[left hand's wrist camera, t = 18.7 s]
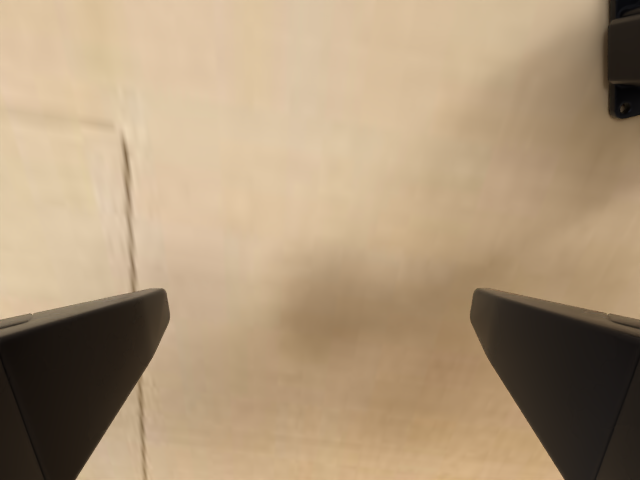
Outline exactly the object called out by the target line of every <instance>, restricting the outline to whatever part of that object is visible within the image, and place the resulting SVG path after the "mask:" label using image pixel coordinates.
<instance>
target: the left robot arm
mask: <svg viewBox="0 0 640 480" xmlns="http://www.w3.org/2000/svg"><path fill="white" fill-rule="evenodd" d="M608 80H609V81H610V83H609V111H610V115H611V116H612V117H614V118H620V119H624V118H629V117H633V116H637V115H640V0H610V25H609V27H608ZM623 104H625V108H624V110H623V111H622V112H620V108H621V106H622V105H623ZM169 320H170V311H169V305H168V299H167V293H166V291H165V290H164V289H162V288H159V289H146V290H141V291H137V292H132V293H127V294H123V295H118V296H113V297H108V298H104V299H99V300H94V301H90V302H85V303H80V304H75V305H71V306H66V307H61V308H57V309H52V310H47V311H43V312H38V313H34V314H33V315H32V314H26V315H21V316H16V317H11V318H7V319H2V320H0V480H76V478H77V476H78V475H79V473H80V472H81V470H82V469H83V467H84V465H85V464H86V462H87V461H88V459H89V457H90V456H91V454H92V453H93V451H94V450H95V448H96V446H97V445H98V443H99V442H100V440H101V438H102V437H103V435H104V434H105V432H106V431H107V429H108V427H109V426H110V424H111V423H112V421H113V420H114V418H115V416H116V415H117V413H118V412H119V410H120V408H121V407H122V405H123V404H124V402H125V401H126V399H127V397H128V396H129V394H130V393H131V391H132V389H133V388H134V386H135V385H136V383H137V382H138V380H139V378H140V377H141V375H142V374H143V372H144V371H145V369H146V367H147V366H148V364H149V362H150V361H151V359H152V357H153V355H154V353H155V352H156V349H157V347H158V345H159V343H160V341H161V339H162V336H163V334H164V332H165V330H166V328H167V326H168V323H169ZM470 320H471V323H472V326H473V328H474V330H475V332H476V334H477V336H478V339H479V341H480V343H481V345H482V347H483V349H484V352H485V354H486V355H487V357H488V359H489V361H490V363H491V364H492V366H493V367H494V369H495V371H496V372H497V374H498V375H499V377H500V378H501V380H502V382H503V383H504V385H505V386H506V388H507V389H508V391H509V393H510V394H511V396H512V397H513V399H514V401H515V402H516V404H517V405H518V407H519V408H520V410H521V412H522V413H523V415H524V416H525V418H526V419H527V421H528V423H529V424H530V426H531V427H532V429H533V431H534V432H535V434H536V435H537V437H538V438H539V440H540V442H541V443H542V445H543V446H544V448H545V450H546V451H547V453H548V454H549V456H550V457H551V459H552V461H553V462H554V464H555V465H556V467H557V469H558V470H559V472H560V473H561V475H562V476H563V478H564V480H640V320H638V319H633V318H629V317H624V316H619V315H614V314H608V315H607V314H606V313H602V312H598V311H593V310H588V309H584V308H579V307H574V306H569V305H565V304H560V303H555V302H551V301H546V300H541V299H536V298H532V297H527V296H522V295H517V294H513V293H508V292H503V291H499V290H494V289H482V288H478V289H476V290H475V291H474V293H473V299H472V305H471V311H470Z"/></svg>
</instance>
